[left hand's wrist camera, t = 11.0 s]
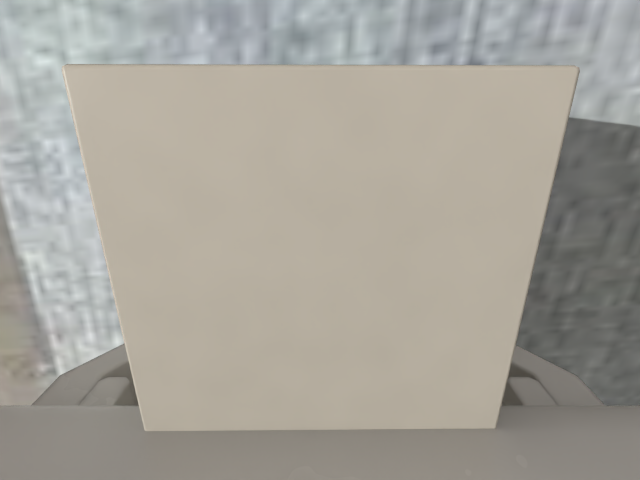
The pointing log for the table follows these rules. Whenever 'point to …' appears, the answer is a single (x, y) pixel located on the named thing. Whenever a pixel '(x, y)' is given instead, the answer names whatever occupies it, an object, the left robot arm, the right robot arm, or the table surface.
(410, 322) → the beam
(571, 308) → the table surface
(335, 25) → the table surface
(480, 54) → the table surface
